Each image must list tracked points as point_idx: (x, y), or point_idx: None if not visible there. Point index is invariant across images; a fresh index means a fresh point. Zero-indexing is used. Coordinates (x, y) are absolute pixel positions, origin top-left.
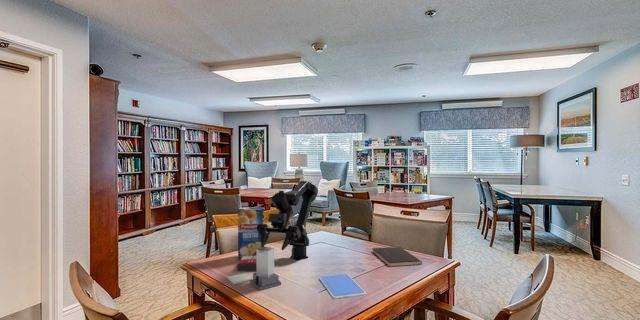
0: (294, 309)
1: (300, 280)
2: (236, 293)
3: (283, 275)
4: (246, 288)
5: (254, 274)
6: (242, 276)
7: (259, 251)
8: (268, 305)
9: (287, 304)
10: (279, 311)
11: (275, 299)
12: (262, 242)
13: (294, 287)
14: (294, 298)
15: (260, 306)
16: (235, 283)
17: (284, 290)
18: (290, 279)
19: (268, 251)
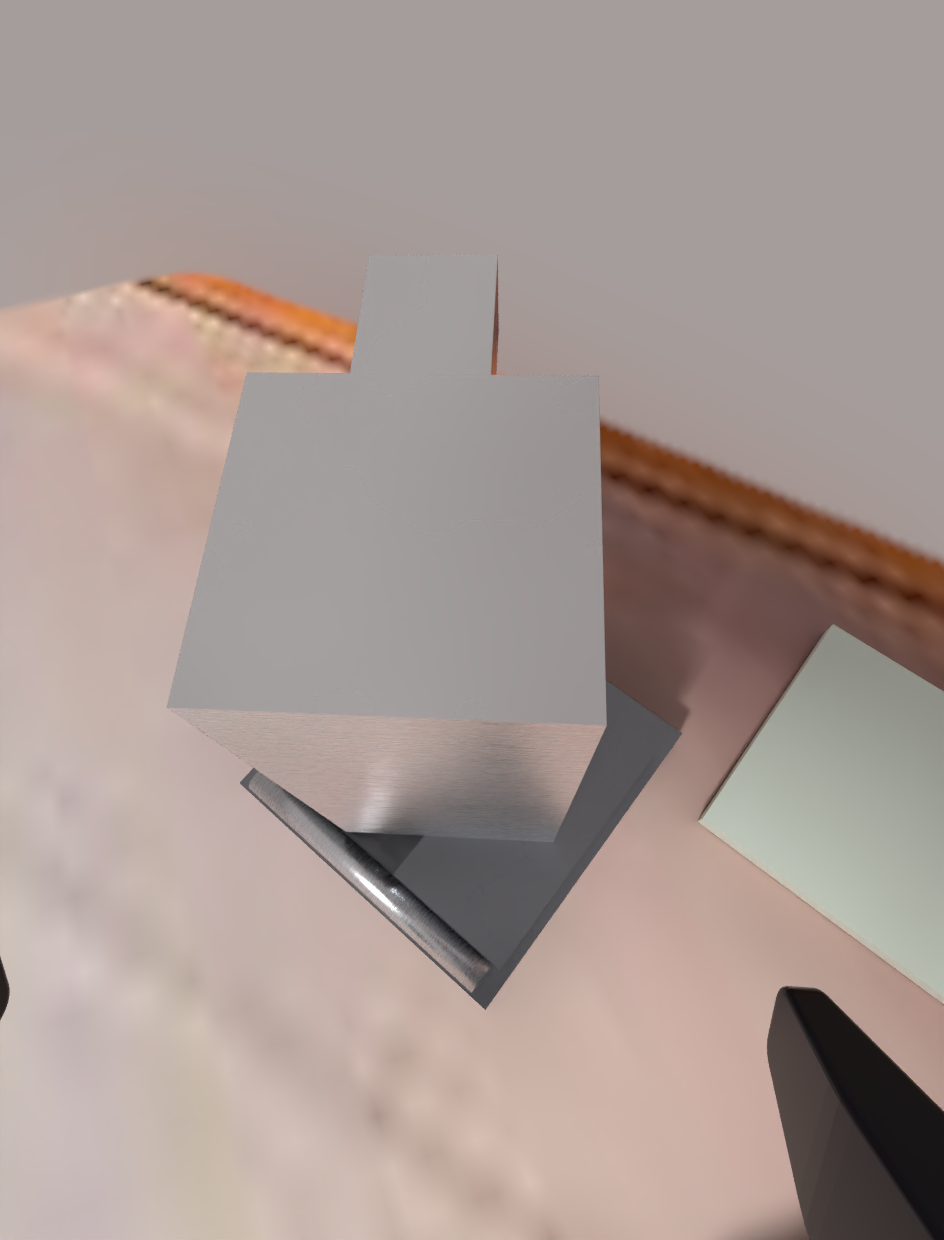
0: (16, 363)
1: (12, 1017)
2: (638, 462)
3: (322, 1169)
4: (612, 584)
5: (619, 695)
6: (895, 861)
7: (457, 309)
8: (240, 361)
9: (85, 412)
10: (128, 314)
11: (213, 458)
12: (900, 1140)
13: (70, 757)
14: (37, 518)
15: (299, 334)
16: (817, 643)
17: (173, 650)
18: (168, 1015)
19: (244, 397)
